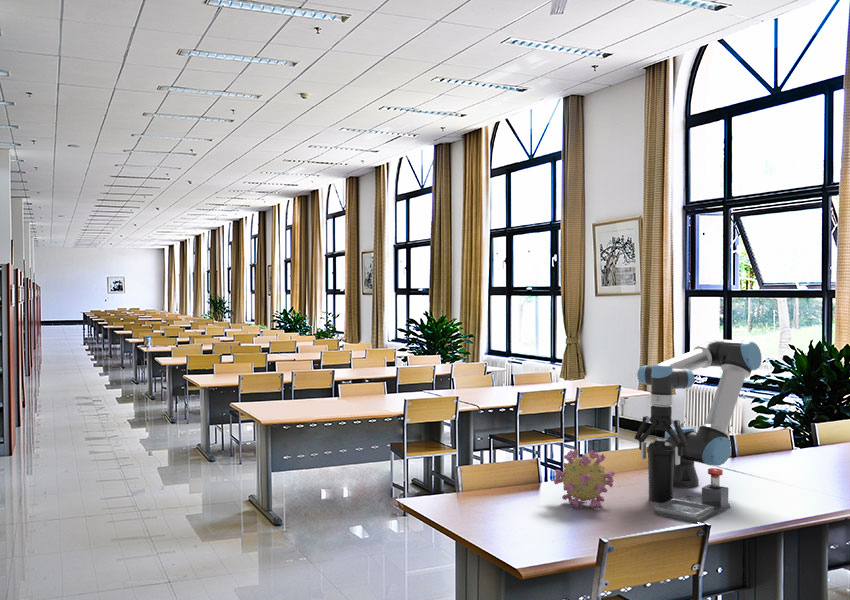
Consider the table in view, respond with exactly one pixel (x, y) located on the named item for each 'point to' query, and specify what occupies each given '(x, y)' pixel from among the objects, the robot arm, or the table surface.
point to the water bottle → (660, 470)
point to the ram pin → (715, 477)
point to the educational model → (584, 478)
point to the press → (695, 505)
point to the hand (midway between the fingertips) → (660, 461)
